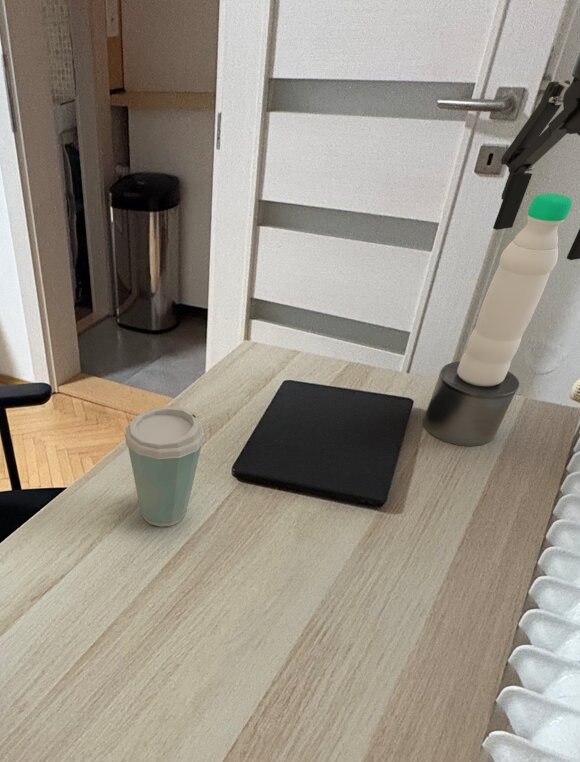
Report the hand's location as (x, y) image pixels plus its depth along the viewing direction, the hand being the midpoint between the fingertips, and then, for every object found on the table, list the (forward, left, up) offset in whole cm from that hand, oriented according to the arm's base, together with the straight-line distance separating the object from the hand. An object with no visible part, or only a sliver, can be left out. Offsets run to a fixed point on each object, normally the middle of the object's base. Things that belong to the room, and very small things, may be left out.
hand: (537, 242), depth 85 cm
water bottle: (0, 0, -20) cm, 20 cm away
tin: (0, 0, -29) cm, 29 cm away
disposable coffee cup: (+46, +32, -29) cm, 63 cm away
